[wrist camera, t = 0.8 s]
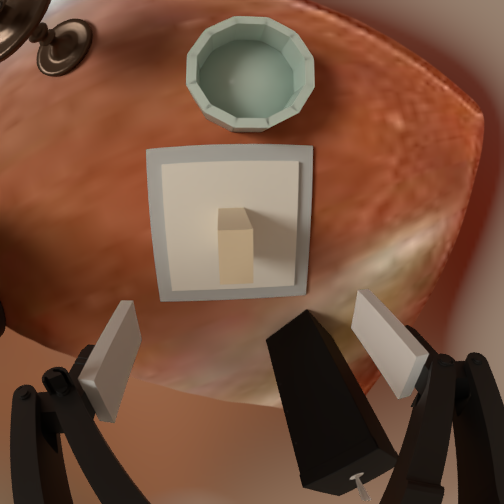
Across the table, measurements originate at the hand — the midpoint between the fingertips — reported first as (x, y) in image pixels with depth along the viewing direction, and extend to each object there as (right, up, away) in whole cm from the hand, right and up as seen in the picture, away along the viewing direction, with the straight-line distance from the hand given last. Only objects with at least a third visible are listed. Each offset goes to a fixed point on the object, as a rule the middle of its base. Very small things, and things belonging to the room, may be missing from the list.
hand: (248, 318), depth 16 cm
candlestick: (-25, +32, +9) cm, 41 cm away
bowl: (0, +24, +14) cm, 28 cm away
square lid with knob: (-2, +7, +19) cm, 21 cm away
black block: (+8, -9, +27) cm, 30 cm away
